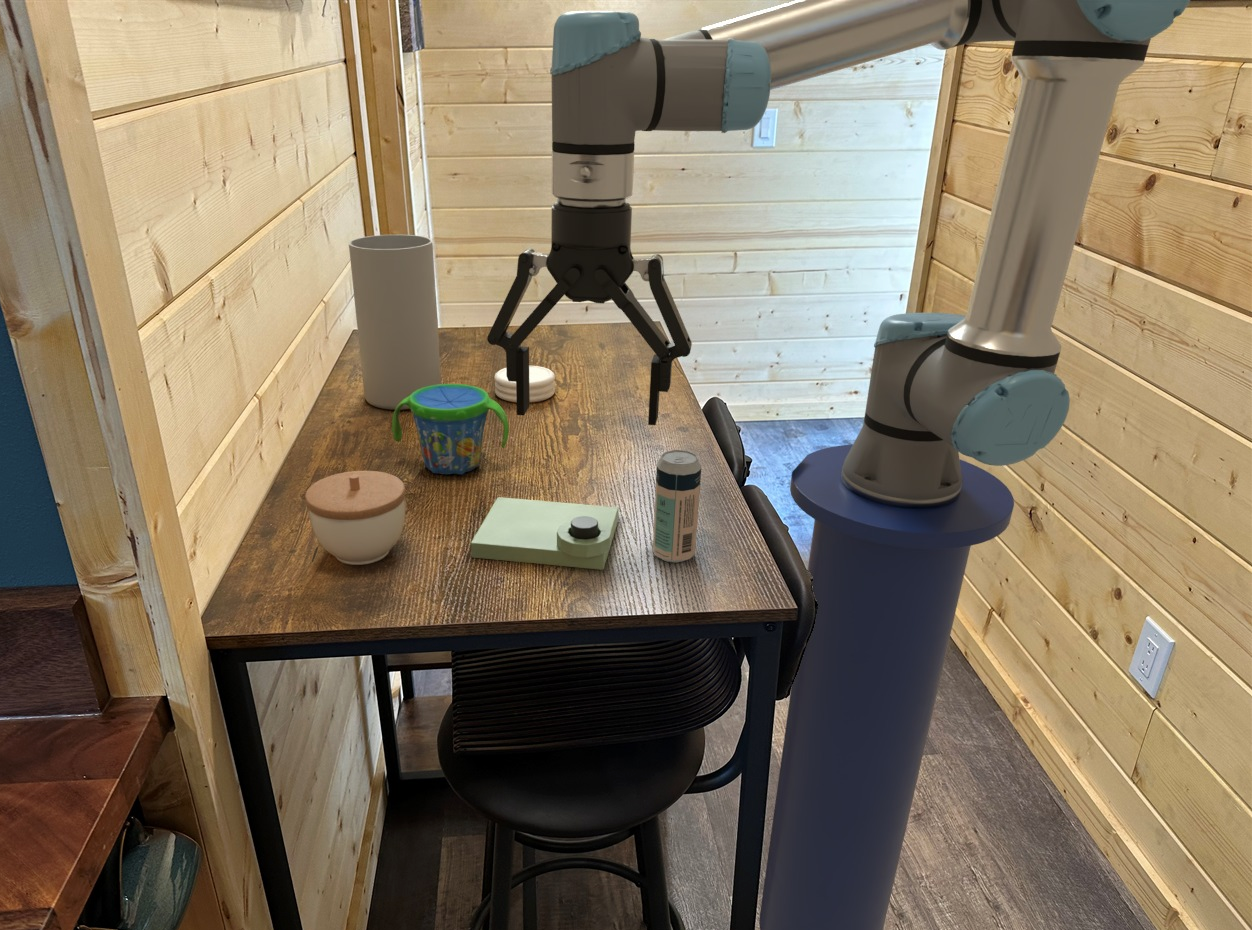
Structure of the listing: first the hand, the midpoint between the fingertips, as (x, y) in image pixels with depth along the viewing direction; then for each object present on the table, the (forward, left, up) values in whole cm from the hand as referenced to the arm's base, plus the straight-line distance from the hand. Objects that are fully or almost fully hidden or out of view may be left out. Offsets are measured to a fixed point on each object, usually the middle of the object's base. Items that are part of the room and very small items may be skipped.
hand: (587, 416), depth 94 cm
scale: (+5, -4, -17) cm, 18 cm away
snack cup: (+22, -22, -17) cm, 36 cm away
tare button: (0, 0, -14) cm, 14 cm away
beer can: (-10, -3, -17) cm, 20 cm away
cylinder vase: (+38, -47, -17) cm, 63 cm away
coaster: (+19, -53, -17) cm, 59 cm away
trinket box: (+25, +3, -17) cm, 31 cm away
